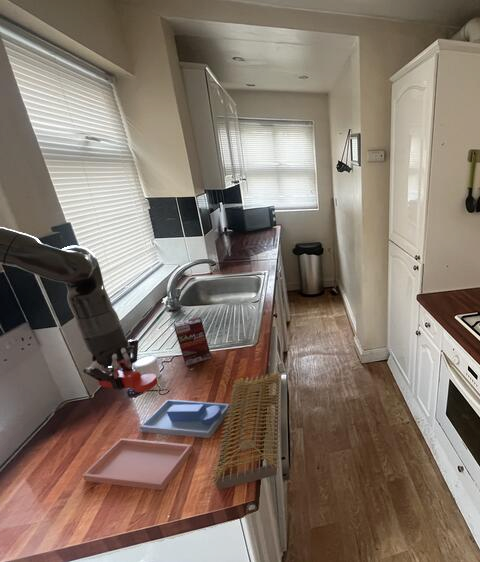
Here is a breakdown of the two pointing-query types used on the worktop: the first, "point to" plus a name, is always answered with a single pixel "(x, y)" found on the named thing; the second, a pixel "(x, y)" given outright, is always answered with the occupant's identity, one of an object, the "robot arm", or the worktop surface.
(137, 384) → the red spoon
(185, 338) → the supplement box
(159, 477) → the rose tray
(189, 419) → the blue spoon
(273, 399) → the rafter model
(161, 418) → the blue tray
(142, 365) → the white short cylinder
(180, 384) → the worktop surface
